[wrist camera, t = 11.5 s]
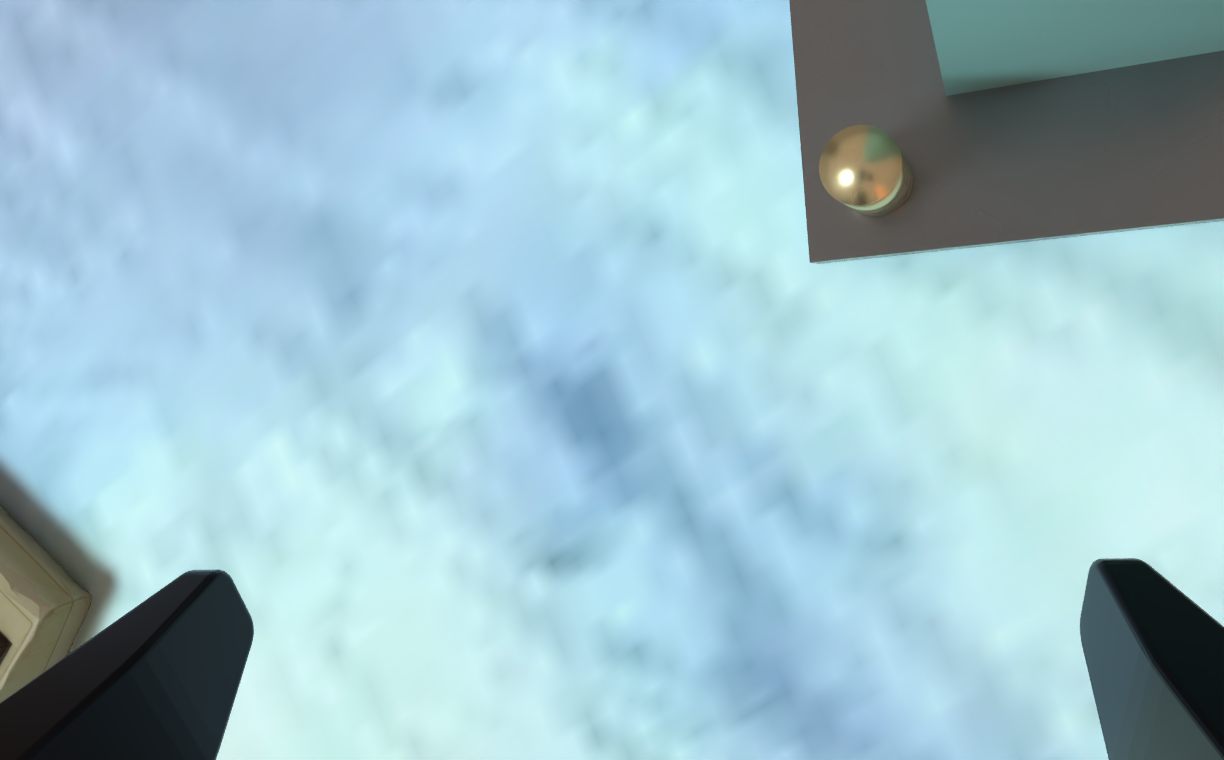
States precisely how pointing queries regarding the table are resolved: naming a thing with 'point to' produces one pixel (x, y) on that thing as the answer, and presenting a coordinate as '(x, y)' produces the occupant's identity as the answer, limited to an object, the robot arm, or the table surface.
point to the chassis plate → (989, 142)
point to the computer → (33, 608)
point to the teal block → (1064, 37)
